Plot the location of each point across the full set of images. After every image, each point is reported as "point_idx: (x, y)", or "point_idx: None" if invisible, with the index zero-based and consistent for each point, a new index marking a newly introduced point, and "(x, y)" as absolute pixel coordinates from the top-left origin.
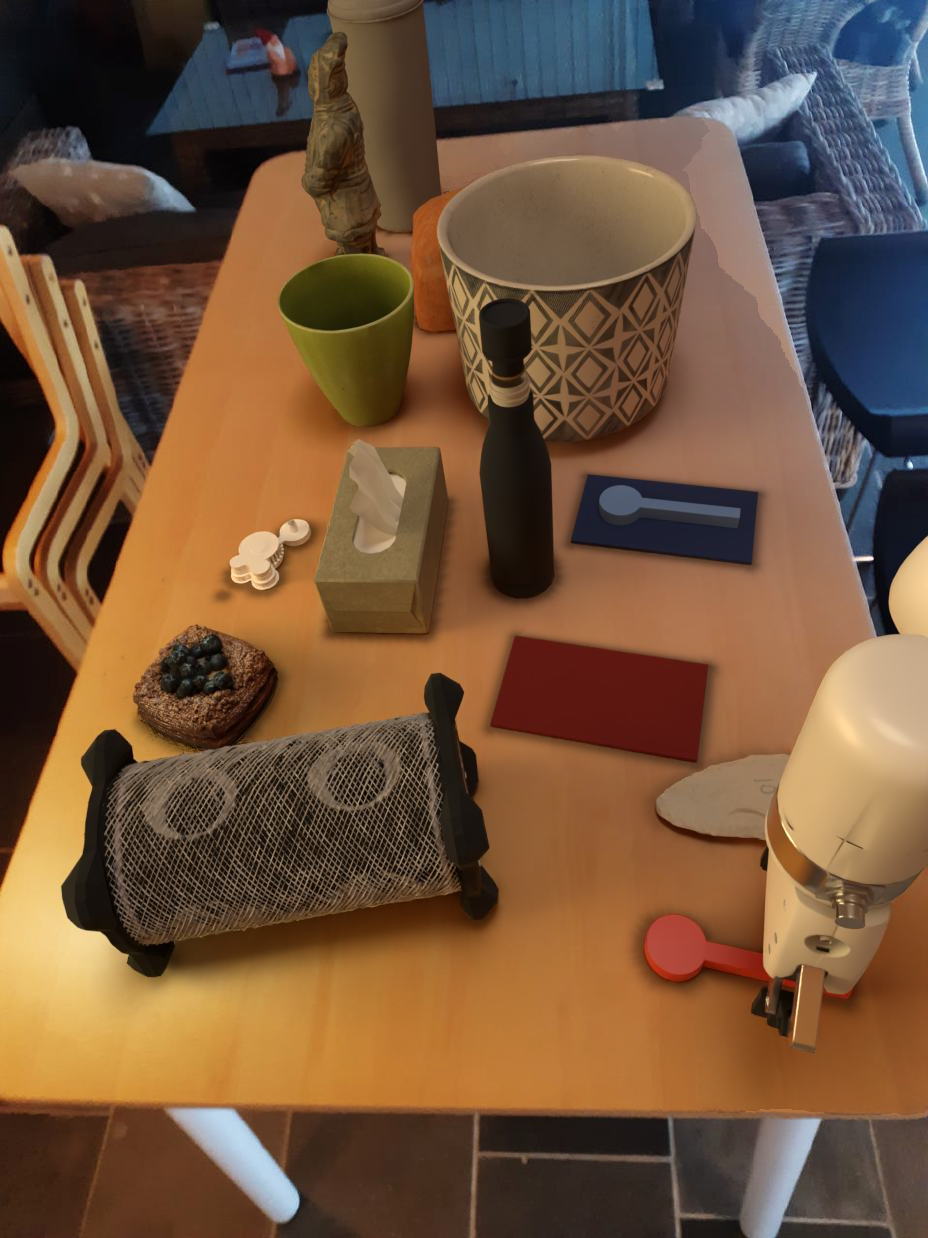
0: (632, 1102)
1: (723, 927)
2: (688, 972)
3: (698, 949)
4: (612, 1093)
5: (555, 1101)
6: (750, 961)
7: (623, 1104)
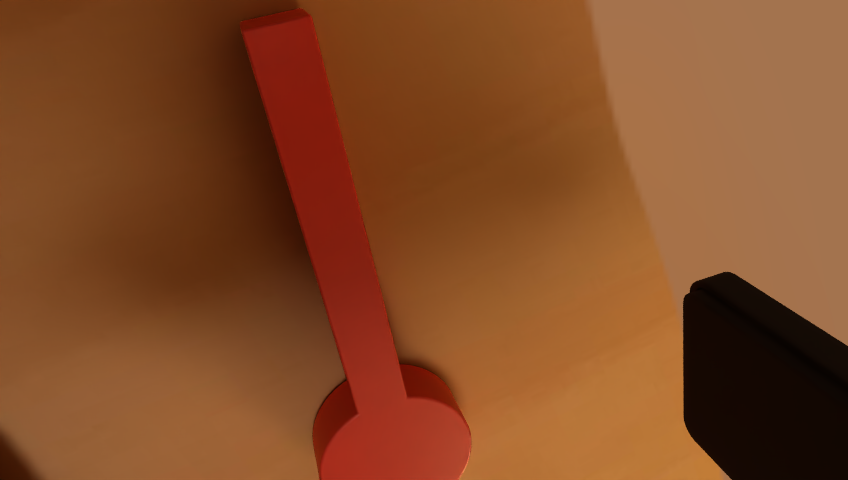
0: None
1: (270, 364)
2: (453, 413)
3: (388, 420)
4: None
5: None
6: (360, 310)
7: None
